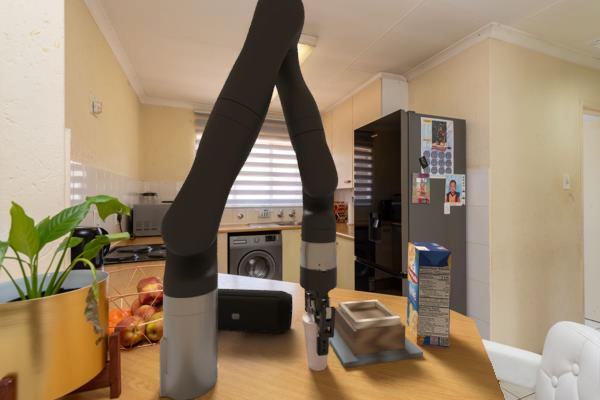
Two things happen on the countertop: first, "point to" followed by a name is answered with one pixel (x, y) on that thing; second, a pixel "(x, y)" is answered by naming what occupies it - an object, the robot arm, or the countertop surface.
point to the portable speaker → (254, 310)
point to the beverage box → (429, 293)
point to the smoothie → (313, 344)
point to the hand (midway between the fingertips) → (317, 344)
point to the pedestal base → (369, 334)
